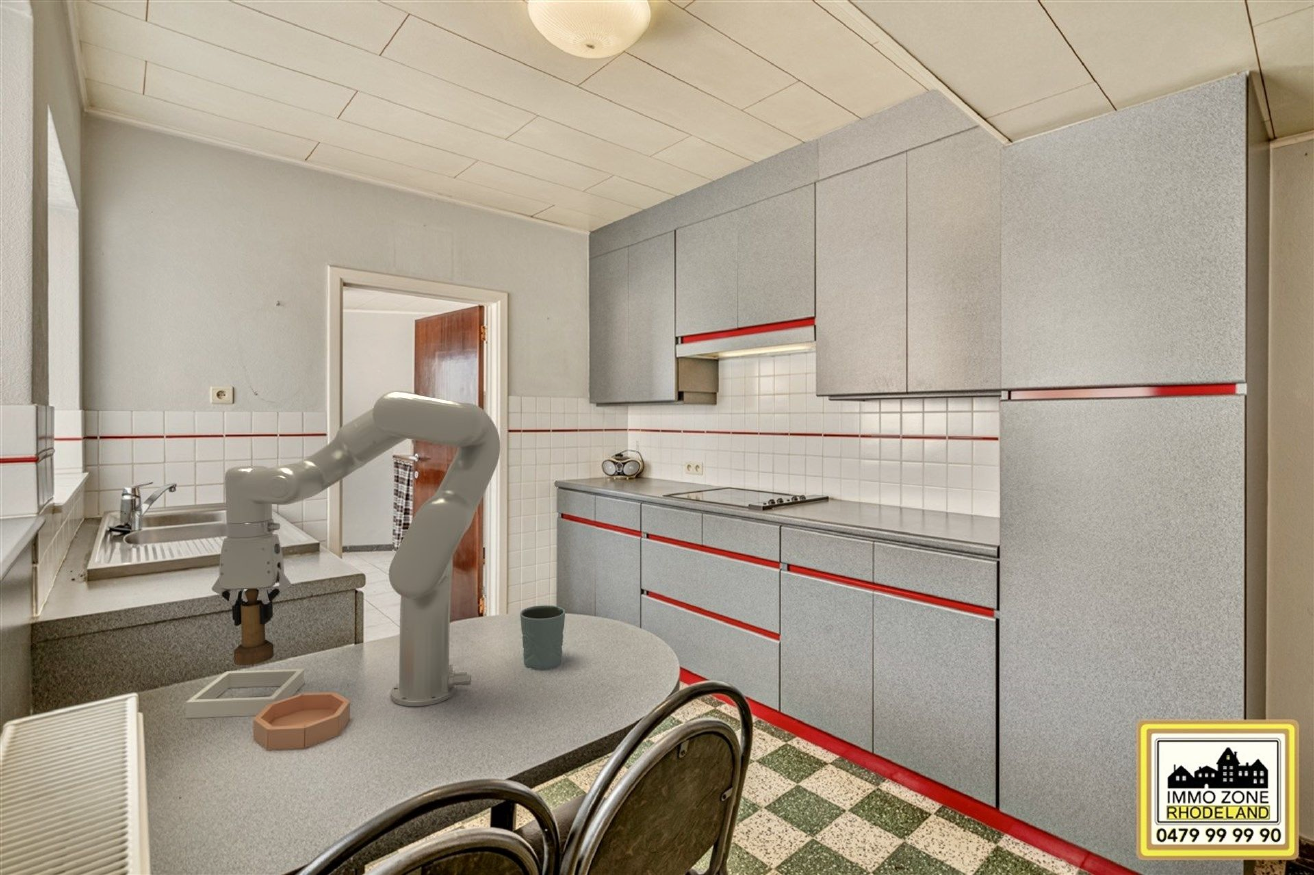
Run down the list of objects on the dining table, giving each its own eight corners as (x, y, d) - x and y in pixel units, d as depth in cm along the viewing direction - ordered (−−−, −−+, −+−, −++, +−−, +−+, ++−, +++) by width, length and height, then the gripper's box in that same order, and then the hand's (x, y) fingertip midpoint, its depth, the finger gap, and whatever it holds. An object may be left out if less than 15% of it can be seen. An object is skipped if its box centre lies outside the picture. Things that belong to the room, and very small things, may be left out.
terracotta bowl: (357, 709, 121) (357, 691, 121) (330, 747, 108) (330, 727, 108) (278, 712, 120) (278, 694, 119) (241, 751, 106) (241, 730, 106)
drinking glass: (573, 661, 148) (574, 610, 147) (543, 675, 139) (544, 621, 139) (540, 651, 153) (541, 602, 153) (509, 665, 145) (510, 612, 144)
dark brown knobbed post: (254, 667, 120) (251, 572, 120) (225, 664, 122) (222, 571, 121) (281, 653, 127) (278, 564, 126) (253, 651, 128) (251, 563, 127)
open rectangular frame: (304, 683, 132) (304, 669, 132) (273, 714, 118) (273, 699, 118) (226, 685, 130) (226, 671, 130) (185, 718, 116) (185, 702, 116)
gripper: (303, 525, 128) (306, 614, 129) (213, 527, 126) (217, 619, 126) (287, 532, 121) (290, 627, 121) (191, 534, 118) (195, 632, 119)
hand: (253, 622), depth 124 cm, fingers closed on dark brown knobbed post, 3 cm apart
